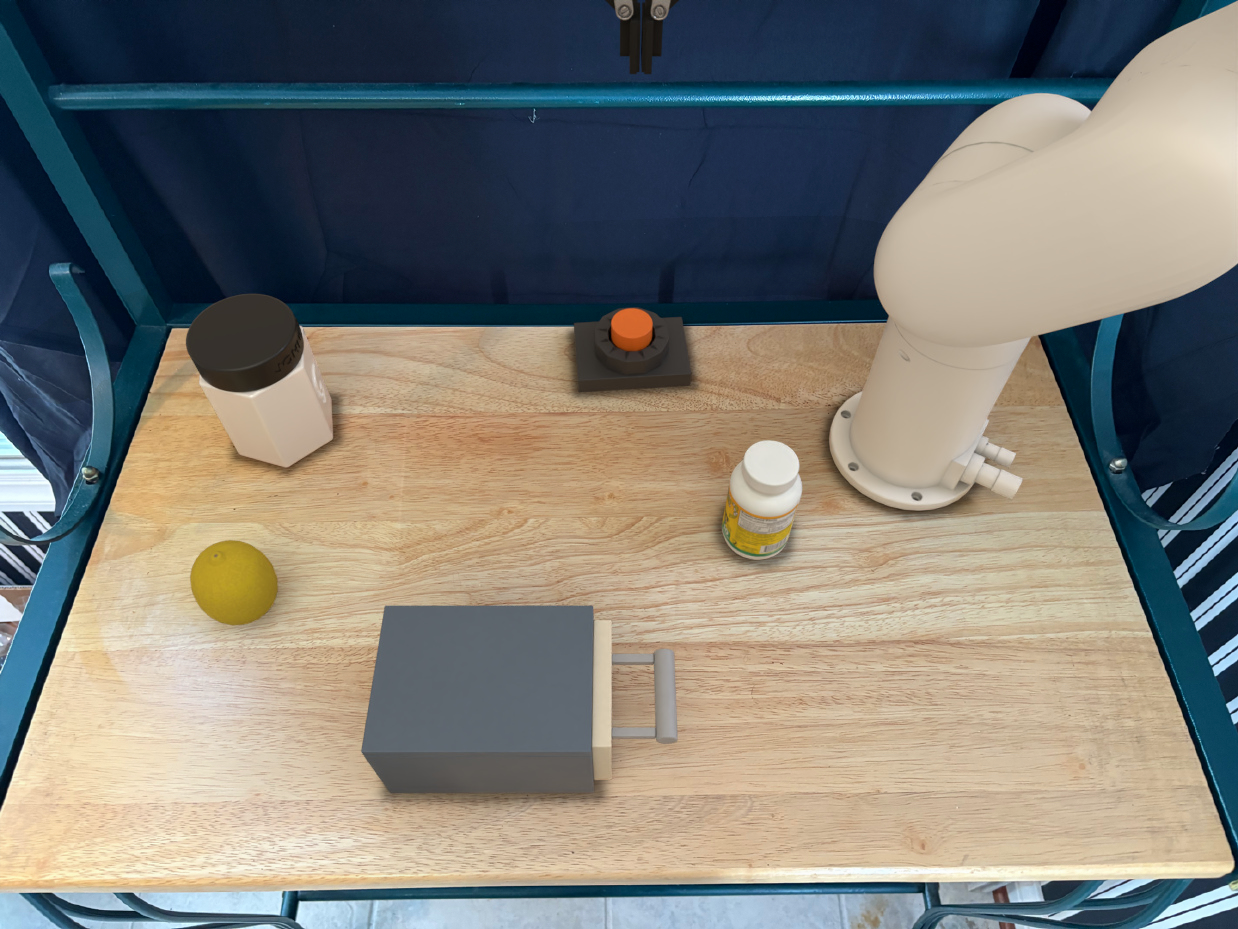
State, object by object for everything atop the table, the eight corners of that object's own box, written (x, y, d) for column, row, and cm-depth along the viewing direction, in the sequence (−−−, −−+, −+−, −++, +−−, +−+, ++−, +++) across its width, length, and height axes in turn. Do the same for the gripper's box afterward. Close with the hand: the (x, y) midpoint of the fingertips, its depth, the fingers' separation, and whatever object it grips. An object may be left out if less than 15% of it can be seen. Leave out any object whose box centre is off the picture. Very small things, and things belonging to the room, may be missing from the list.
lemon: (272, 648, 67) (235, 598, 60) (202, 634, 67) (158, 583, 61) (302, 583, 70) (270, 528, 63) (235, 570, 70) (196, 514, 64)
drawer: (670, 661, 65) (675, 619, 60) (674, 780, 60) (681, 746, 55) (437, 661, 65) (420, 619, 60) (423, 780, 60) (403, 747, 55)
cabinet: (595, 658, 66) (593, 605, 59) (593, 793, 61) (591, 752, 54) (408, 658, 66) (384, 605, 59) (389, 793, 61) (360, 752, 54)
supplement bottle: (777, 571, 70) (797, 503, 63) (711, 548, 72) (723, 479, 64) (795, 516, 73) (817, 445, 66) (732, 495, 74) (746, 423, 67)
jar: (337, 460, 76) (297, 365, 67) (237, 477, 75) (181, 383, 65) (333, 381, 81) (295, 281, 72) (239, 396, 80) (187, 297, 71)
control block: (680, 329, 85) (683, 302, 82) (690, 386, 81) (693, 359, 78) (574, 335, 85) (572, 308, 82) (578, 393, 81) (577, 366, 78)
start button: (649, 320, 82) (650, 306, 80) (653, 350, 80) (654, 336, 78) (609, 323, 81) (609, 309, 80) (612, 352, 79) (612, 339, 78)
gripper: (773, -264, 54) (738, 36, 68) (519, -266, 53) (540, 35, 68) (787, -215, 49) (746, 94, 64) (511, -217, 49) (535, 93, 64)
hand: (640, 63), depth 66 cm, fingers closed
